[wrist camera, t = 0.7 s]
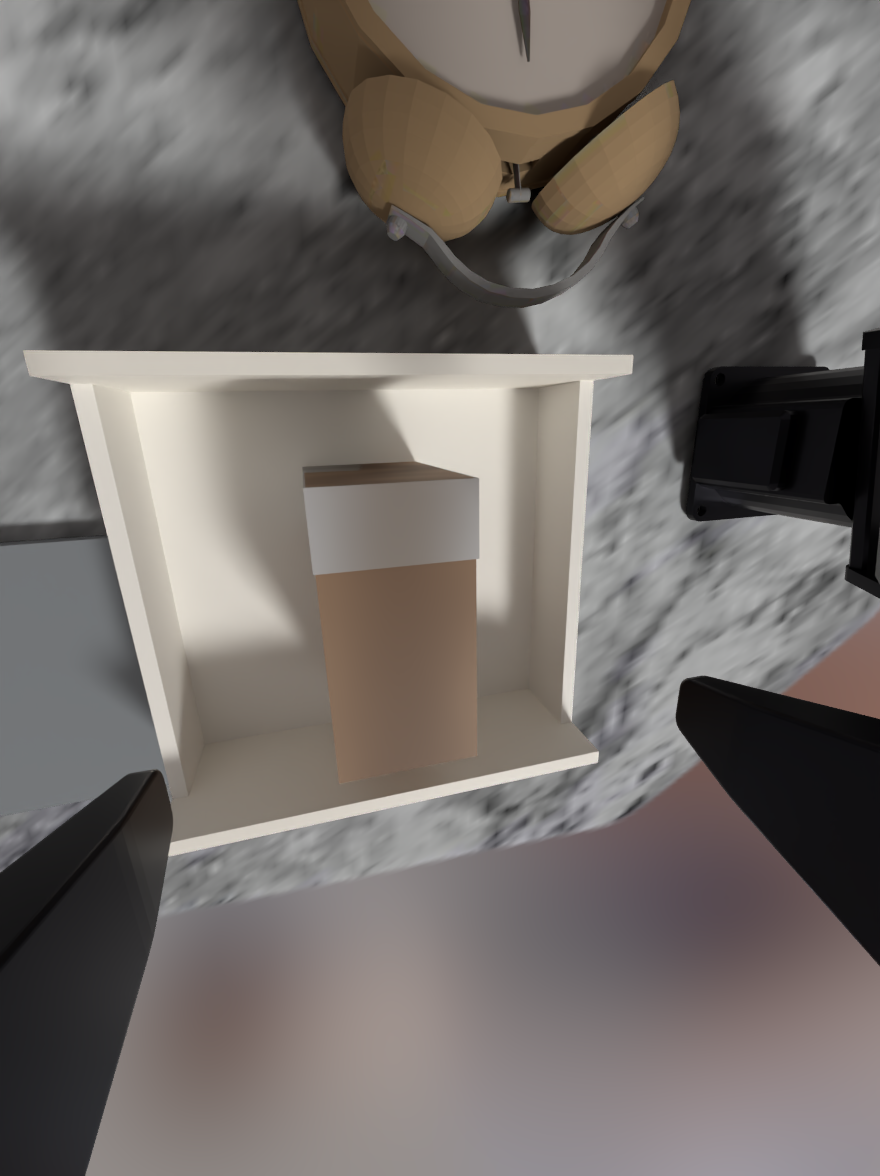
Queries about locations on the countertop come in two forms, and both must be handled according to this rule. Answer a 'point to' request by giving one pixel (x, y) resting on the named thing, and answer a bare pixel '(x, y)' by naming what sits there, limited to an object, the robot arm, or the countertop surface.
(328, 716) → the drawer
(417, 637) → the walnut block
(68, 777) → the slate mat
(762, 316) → the countertop surface
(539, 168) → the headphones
